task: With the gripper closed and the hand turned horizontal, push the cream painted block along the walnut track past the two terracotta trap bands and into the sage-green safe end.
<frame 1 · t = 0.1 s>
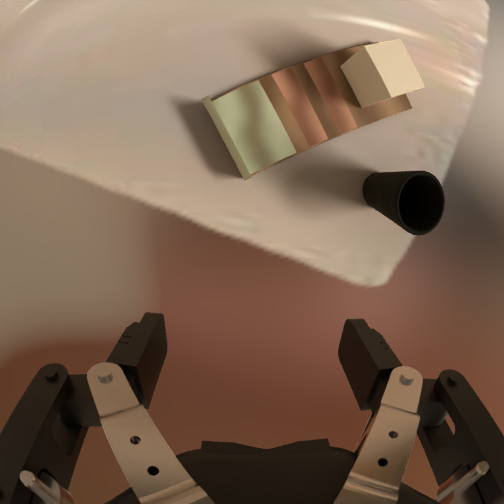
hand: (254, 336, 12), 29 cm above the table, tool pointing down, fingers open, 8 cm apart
block: (380, 74, 28), point 6 cm above the table, slide at 0.0 cm
track: (302, 105, 35), on the table
cup: (378, 190, 39), on the table
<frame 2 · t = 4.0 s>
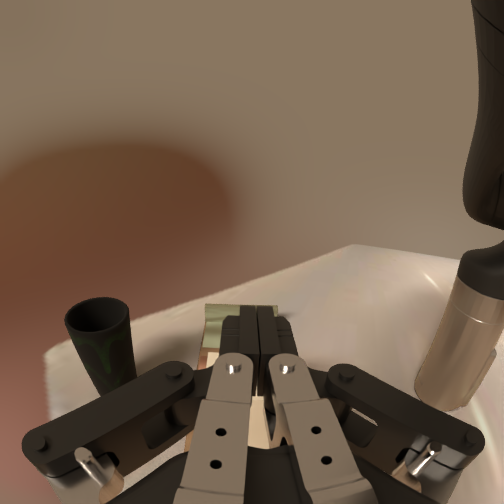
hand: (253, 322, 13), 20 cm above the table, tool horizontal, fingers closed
block: (244, 406, 24), point 6 cm above the table, slide at 0.0 cm
track: (241, 371, 36), on the table
cup: (119, 391, 30), on the table
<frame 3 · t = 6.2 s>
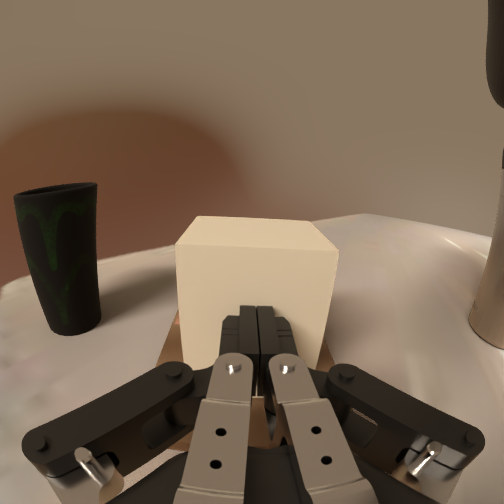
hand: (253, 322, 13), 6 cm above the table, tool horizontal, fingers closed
block: (251, 306, 16), point 6 cm above the table, slide at 0.4 cm, touching gripper
track: (245, 303, 28), on the table
cup: (75, 320, 22), on the table
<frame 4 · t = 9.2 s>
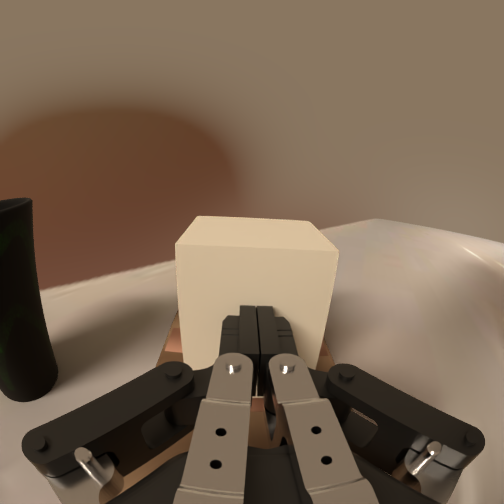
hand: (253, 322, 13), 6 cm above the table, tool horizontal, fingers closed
block: (251, 306, 16), point 6 cm above the table, slide at 9.0 cm, touching gripper
track: (246, 358, 20), on the table
cup: (28, 377, 13), on the table
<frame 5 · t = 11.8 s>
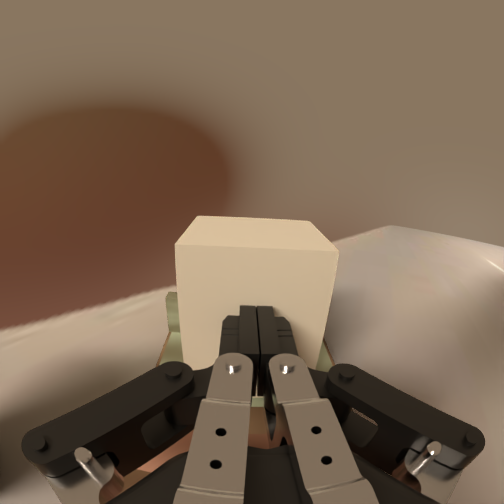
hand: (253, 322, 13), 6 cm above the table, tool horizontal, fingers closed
block: (251, 306, 16), point 6 cm above the table, slide at 18.6 cm, touching gripper
track: (248, 473, 10), on the table
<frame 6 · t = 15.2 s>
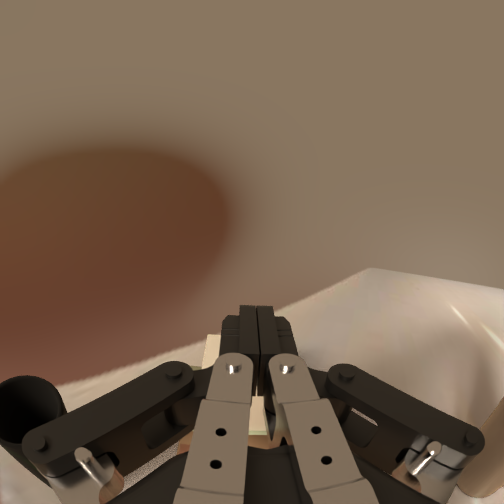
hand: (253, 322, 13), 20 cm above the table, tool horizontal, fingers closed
block: (238, 385, 27), point 6 cm above the table, slide at 18.5 cm
track: (235, 467, 22), on the table
cup: (76, 480, 15), on the table
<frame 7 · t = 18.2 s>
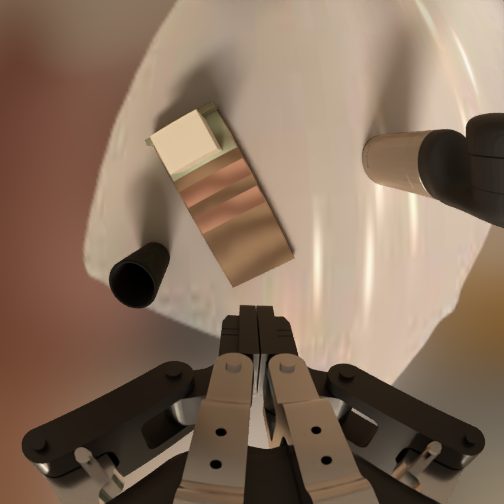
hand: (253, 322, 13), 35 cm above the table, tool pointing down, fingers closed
block: (189, 143, 37), point 6 cm above the table, slide at 18.5 cm
track: (216, 185, 45), on the table
cup: (155, 256, 49), on the table
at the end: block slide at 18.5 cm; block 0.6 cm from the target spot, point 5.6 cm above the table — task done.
